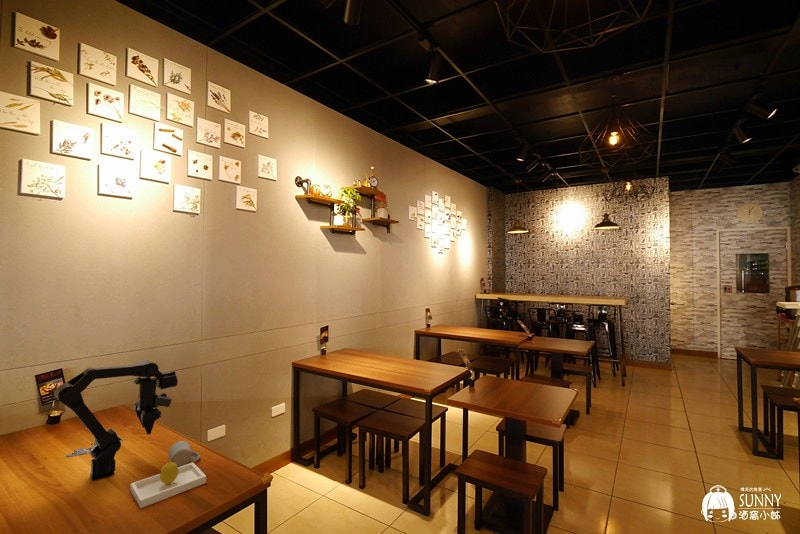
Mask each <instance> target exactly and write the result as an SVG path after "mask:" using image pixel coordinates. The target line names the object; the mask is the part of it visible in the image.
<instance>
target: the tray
mask: <svg viewBox="0 0 800 534" xmlns="http://www.w3.org/2000/svg"><path fill="white" fill-rule="evenodd" d="M206 483H207V475H206V474H205V472H203V471H202V470H201V469H200V468H199V467H198V466H197V465H196V464H195V463H194V461H191V462H189V463H188V464H187V465H184V466H181V467H178V475H177V478H176V479H175V480H174V481H173V482H172V483H170V484H169V485H168V484H165V483H163V482H162V481H161V479H160V473H158V474H155V475H151V476H148V477H147V478H143V479H139V480H137V481H135V482H131V483H130V493H131V495H132V496H133V498H134V500H135V502H136V503H137V505H138V508H139V509H142V508H146V507H147V506H151V505H152V504H155V503H157V502H160V501H162V500H163V501H164V500H165V499H169V498H171V497H173V496H175V495H178V494H182V493H183V492H186V491H189V490H191V489H194V488H196V487H199V486H201V485H203V484H206Z"/></svg>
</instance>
